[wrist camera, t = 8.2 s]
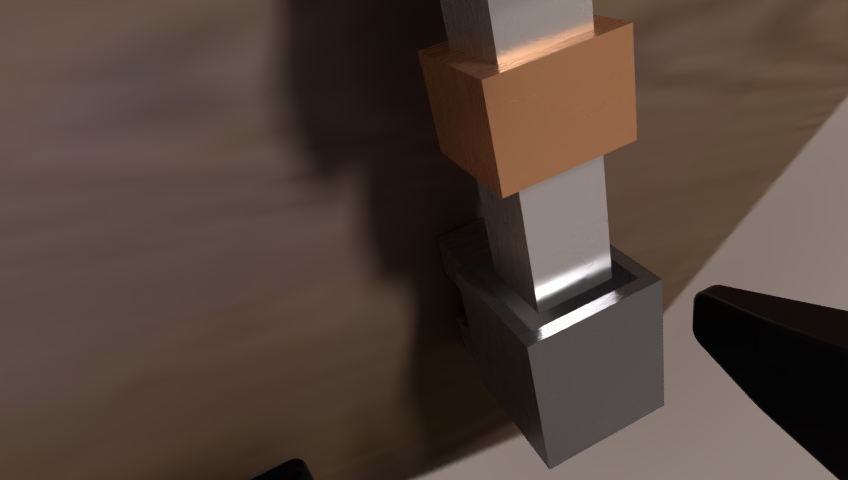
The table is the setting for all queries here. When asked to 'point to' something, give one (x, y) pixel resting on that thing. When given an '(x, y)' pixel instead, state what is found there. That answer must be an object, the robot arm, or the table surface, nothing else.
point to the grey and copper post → (536, 131)
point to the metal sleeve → (561, 348)
